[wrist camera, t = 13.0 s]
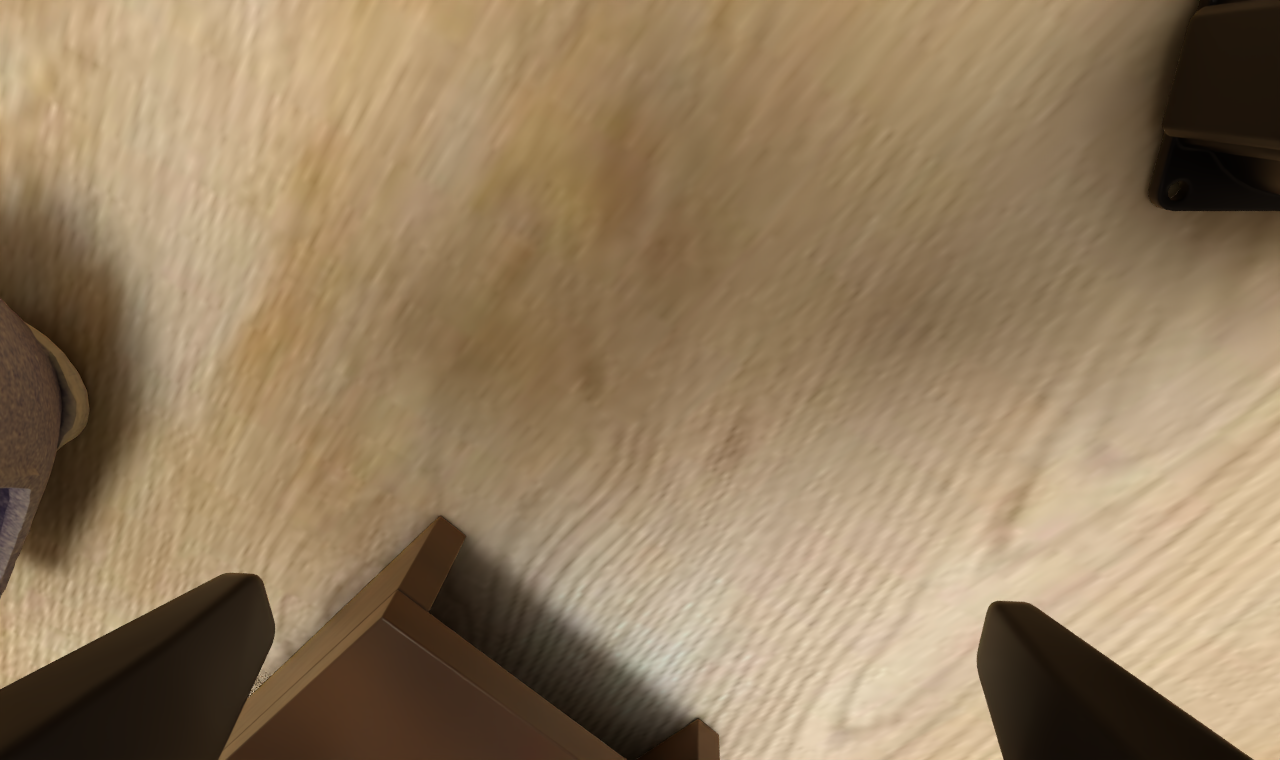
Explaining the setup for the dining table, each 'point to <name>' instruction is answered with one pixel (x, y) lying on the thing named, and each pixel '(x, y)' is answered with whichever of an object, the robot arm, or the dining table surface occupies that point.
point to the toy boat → (31, 425)
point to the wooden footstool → (415, 687)
